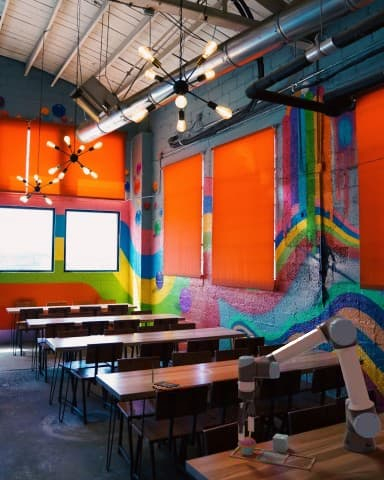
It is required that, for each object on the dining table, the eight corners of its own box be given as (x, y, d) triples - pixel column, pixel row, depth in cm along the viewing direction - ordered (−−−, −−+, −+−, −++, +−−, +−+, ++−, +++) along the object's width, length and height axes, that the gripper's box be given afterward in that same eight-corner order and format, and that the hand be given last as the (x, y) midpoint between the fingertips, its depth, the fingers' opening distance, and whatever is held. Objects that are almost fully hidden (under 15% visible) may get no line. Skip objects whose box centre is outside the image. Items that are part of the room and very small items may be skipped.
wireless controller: (181, 389, 340) (180, 365, 341) (167, 393, 330) (167, 368, 331) (161, 385, 353) (161, 362, 354) (148, 388, 342) (148, 365, 344)
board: (239, 445, 229) (239, 445, 229) (315, 458, 213) (315, 457, 213) (229, 456, 216) (229, 455, 216) (309, 470, 200) (309, 469, 200)
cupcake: (254, 449, 224) (254, 424, 225) (258, 456, 216) (257, 430, 216) (237, 450, 224) (236, 424, 225) (239, 457, 215) (239, 430, 216)
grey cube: (276, 446, 228) (276, 433, 229) (288, 448, 226) (288, 435, 226) (273, 450, 223) (272, 437, 223) (285, 452, 220) (285, 439, 221)
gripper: (247, 383, 234) (247, 426, 233) (229, 395, 212) (229, 442, 211) (261, 384, 231) (261, 428, 230) (245, 397, 209) (245, 445, 207)
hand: (246, 435), depth 220 cm, fingers open, 13 cm apart
